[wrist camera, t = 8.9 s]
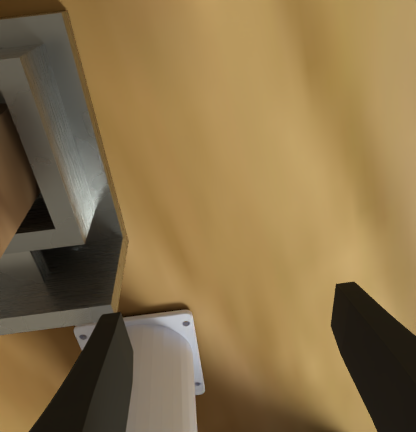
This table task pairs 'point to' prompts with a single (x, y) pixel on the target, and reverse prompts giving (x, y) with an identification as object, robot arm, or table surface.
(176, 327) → the robot arm
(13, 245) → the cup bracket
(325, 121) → the table surface
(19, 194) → the brown rectangular block
